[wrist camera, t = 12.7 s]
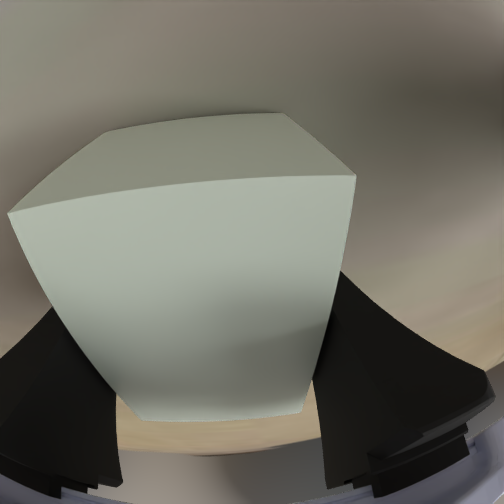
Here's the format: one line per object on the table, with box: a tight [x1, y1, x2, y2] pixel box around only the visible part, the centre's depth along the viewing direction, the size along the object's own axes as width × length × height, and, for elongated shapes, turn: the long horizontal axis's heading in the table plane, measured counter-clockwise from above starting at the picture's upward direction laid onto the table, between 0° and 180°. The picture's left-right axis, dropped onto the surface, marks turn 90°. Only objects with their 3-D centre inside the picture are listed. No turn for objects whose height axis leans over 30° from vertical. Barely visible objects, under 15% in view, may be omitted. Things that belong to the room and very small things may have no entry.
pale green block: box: [7, 113, 357, 422], centre depth 8 cm, size 6×8×6 cm
